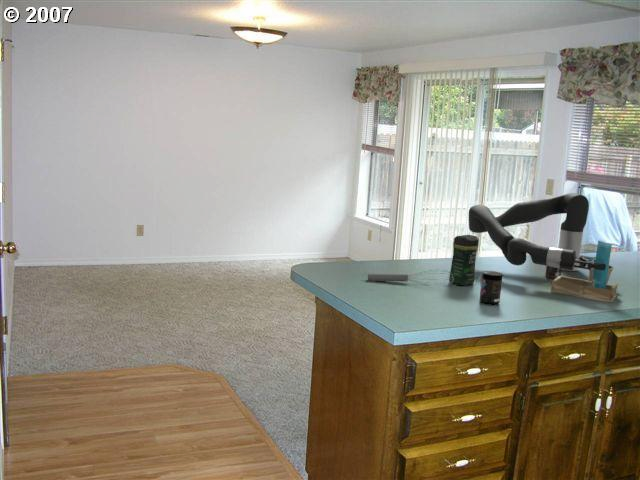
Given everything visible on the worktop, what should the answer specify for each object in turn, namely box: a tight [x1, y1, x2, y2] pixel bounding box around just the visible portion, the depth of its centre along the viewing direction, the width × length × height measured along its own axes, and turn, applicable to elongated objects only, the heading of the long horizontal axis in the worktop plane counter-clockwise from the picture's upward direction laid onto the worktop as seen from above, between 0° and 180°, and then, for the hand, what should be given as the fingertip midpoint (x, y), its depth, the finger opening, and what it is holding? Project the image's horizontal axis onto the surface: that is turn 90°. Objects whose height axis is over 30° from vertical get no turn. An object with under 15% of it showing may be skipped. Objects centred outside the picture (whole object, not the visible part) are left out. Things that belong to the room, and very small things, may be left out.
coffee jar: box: [448, 234, 479, 286], centre depth 248 cm, size 10×8×19 cm
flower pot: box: [588, 264, 615, 285], centre depth 258 cm, size 9×9×9 cm
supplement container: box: [479, 270, 504, 306], centre depth 223 cm, size 7×7×10 cm
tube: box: [592, 240, 613, 289], centre depth 241 cm, size 7×5×19 cm, turn 21°
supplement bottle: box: [545, 265, 563, 280], centre depth 270 cm, size 6×6×11 cm
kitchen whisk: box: [363, 269, 454, 288], centre depth 244 cm, size 6×34×6 cm, turn 87°
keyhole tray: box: [550, 275, 619, 304], centre depth 245 cm, size 13×21×5 cm, turn 59°
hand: (607, 265), depth 240 cm, fingers open, 8 cm apart
